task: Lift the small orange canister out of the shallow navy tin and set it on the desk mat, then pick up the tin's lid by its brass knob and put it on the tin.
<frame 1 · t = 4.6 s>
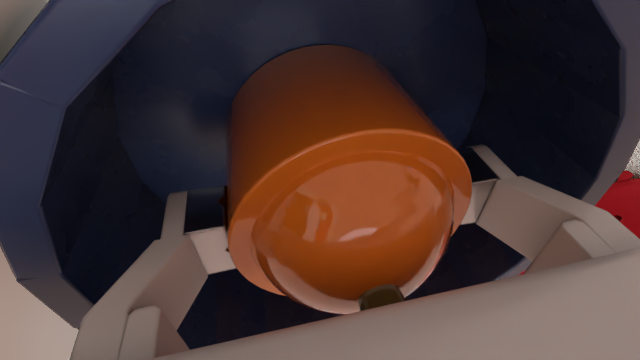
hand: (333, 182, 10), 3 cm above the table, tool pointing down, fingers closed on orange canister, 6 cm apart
alarm clock: (560, 243, 24), on the table
orange canister: (317, 134, 12), point 1 cm above the table, touching gripper, tin
tin: (314, 126, 12), on the table
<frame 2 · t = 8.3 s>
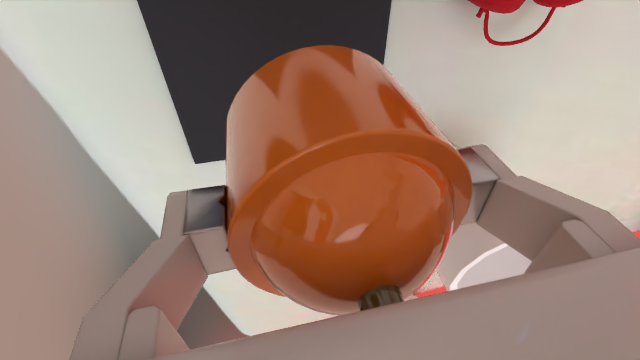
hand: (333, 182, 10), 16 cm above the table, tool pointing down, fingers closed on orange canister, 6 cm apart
desk mat: (276, 32, 23), on the table
orange canister: (317, 134, 12), point 14 cm above the table, touching gripper
foam cup: (429, 164, 35), on the table
when the fingers open (3 cm above the table, at t = 11.9 s): orange canister stays where it is, resting on desk mat.
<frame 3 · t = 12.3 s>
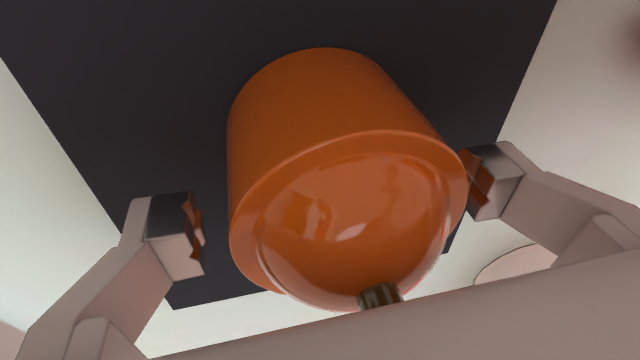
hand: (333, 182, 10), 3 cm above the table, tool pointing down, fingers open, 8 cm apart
desk mat: (313, 129, 12), on the table
orange canister: (317, 135, 12), resting on desk mat
foam cup: (511, 267, 25), on the table
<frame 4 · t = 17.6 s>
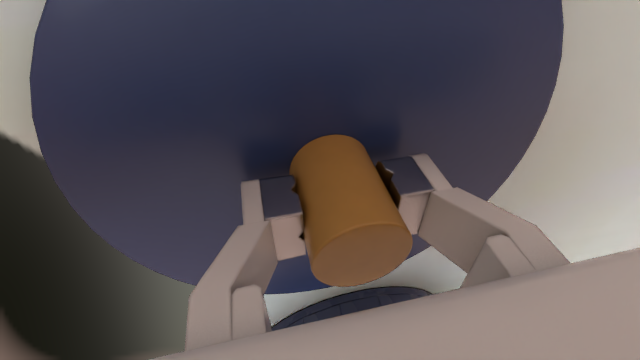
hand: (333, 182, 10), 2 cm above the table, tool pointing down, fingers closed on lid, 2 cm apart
tin: (349, 340, 24), on the table
lid: (324, 156, 11), point 1 cm above the table, touching gripper
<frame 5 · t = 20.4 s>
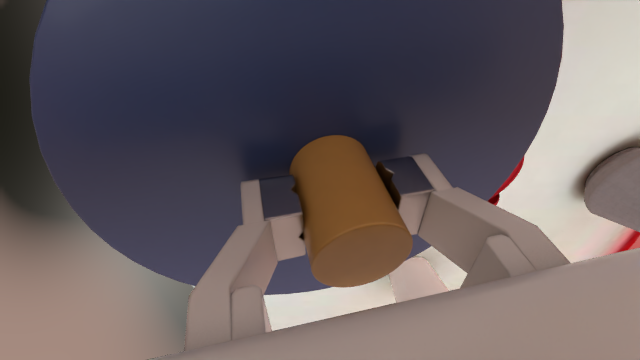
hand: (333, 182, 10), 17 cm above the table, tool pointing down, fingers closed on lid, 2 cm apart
lid: (324, 156, 11), point 16 cm above the table, touching gripper
foam cup: (407, 268, 51), on the table
coffee pot: (597, 192, 48), on the table
when the fingers open (7 cm above the table, at t = 23.5 s): lid stays where it is, resting on tin.
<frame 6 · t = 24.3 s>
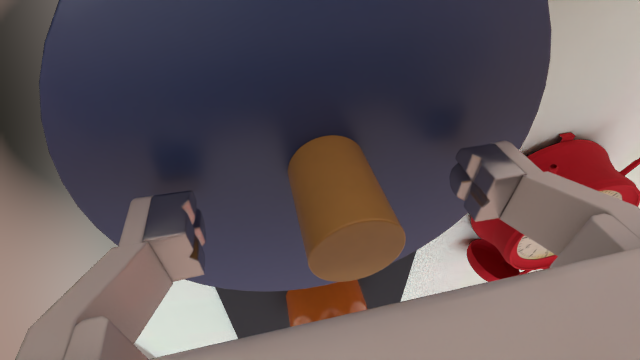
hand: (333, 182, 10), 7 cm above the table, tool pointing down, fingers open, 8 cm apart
desk mat: (320, 287, 28), on the table
alarm clock: (521, 204, 27), on the table
orange canister: (322, 291, 28), resting on desk mat
lid: (322, 156, 11), point 5 cm above the table, touching tin
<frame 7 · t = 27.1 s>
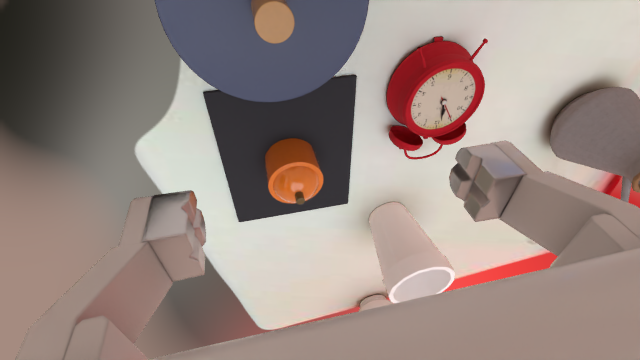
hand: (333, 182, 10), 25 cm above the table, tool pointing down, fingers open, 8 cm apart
desk mat: (289, 157, 41), on the table
alarm clock: (424, 97, 40), on the table
orange canister: (290, 159, 41), resting on desk mat
lid: (268, 5, 24), point 5 cm above the table, touching tin
foam cup: (386, 214, 54), on the table
flower vase: (373, 301, 74), on the table
coffee pot: (564, 141, 51), on the table
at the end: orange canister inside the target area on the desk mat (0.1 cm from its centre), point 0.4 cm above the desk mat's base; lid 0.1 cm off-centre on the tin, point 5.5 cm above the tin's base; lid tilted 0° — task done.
